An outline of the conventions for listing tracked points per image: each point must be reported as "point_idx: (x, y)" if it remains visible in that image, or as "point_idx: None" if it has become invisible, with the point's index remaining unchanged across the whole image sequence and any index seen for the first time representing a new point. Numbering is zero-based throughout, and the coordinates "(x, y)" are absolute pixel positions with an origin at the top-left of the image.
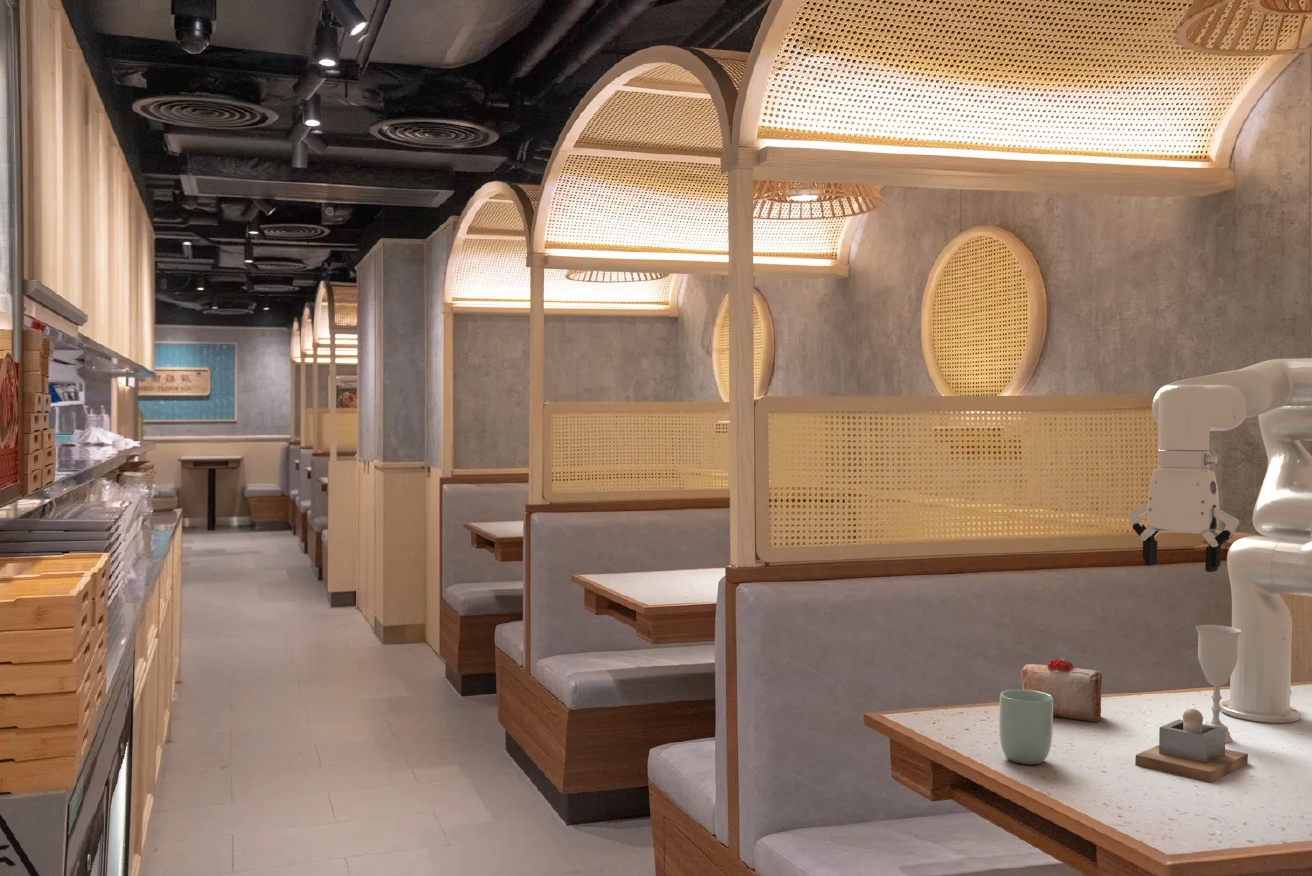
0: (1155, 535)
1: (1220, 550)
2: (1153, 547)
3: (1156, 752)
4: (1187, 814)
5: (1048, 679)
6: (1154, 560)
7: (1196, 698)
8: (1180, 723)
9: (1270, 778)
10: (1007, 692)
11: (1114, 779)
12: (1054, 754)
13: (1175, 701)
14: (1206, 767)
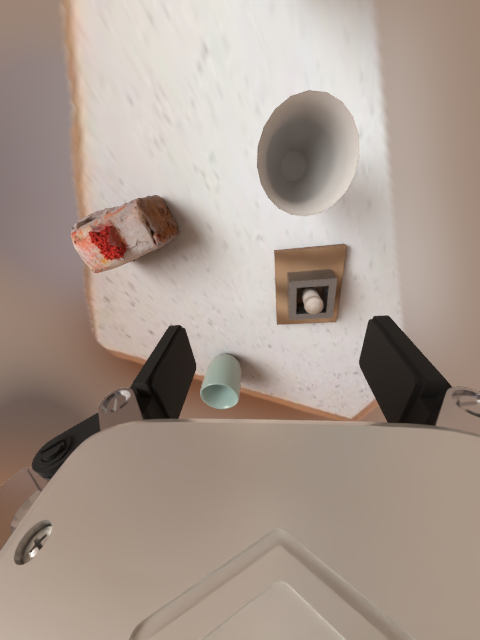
0: (141, 412)
1: (446, 384)
2: (173, 388)
3: (285, 307)
4: (341, 376)
5: (124, 263)
6: (185, 348)
7: None
8: (296, 293)
9: (370, 271)
10: (202, 394)
11: (283, 354)
12: (227, 338)
13: None
14: None
